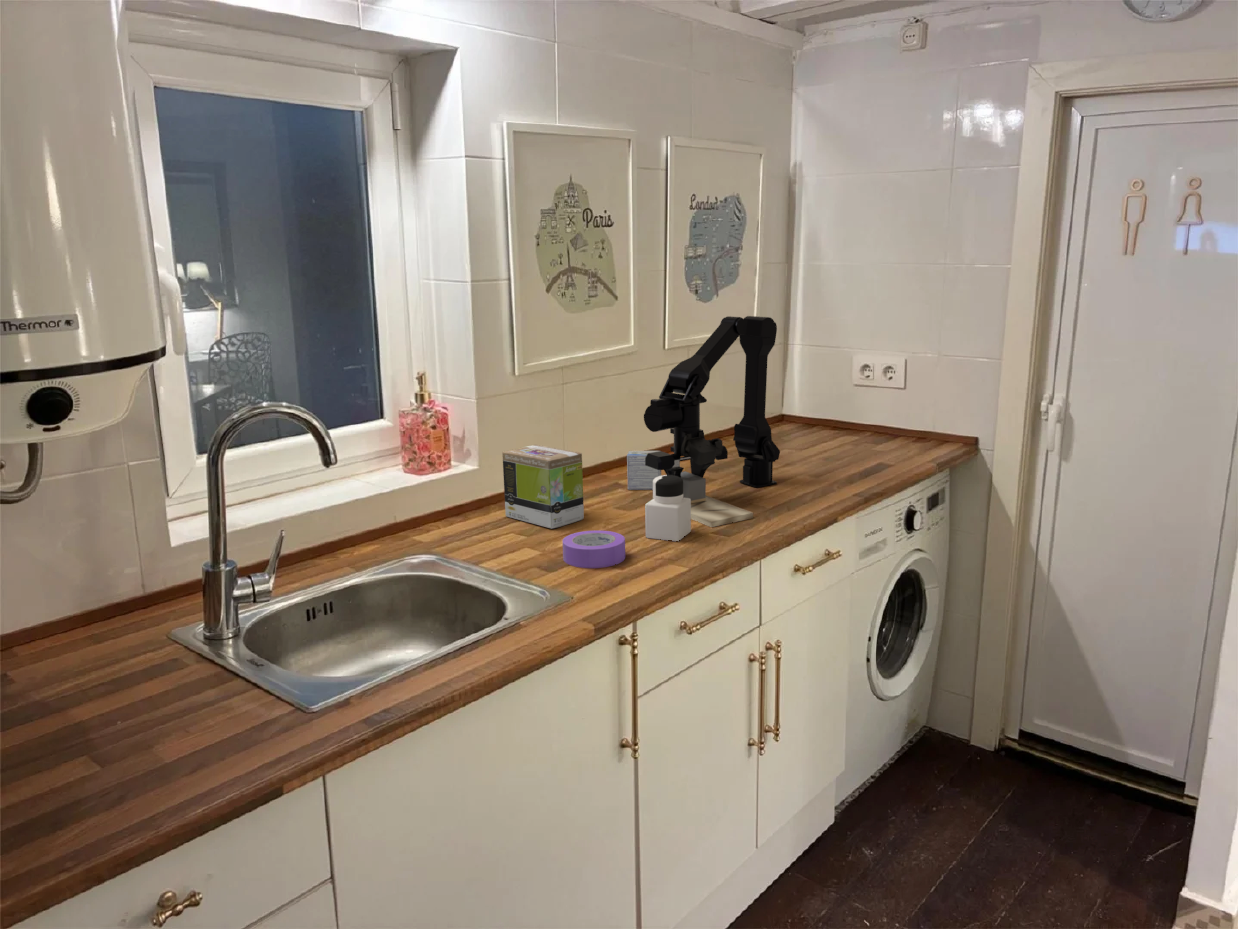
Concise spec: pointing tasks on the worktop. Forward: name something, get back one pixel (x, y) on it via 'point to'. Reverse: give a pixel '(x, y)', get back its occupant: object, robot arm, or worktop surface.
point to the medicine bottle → (668, 510)
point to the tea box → (543, 485)
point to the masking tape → (594, 549)
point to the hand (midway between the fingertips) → (687, 493)
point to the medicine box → (640, 471)
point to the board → (717, 512)
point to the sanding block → (693, 487)
